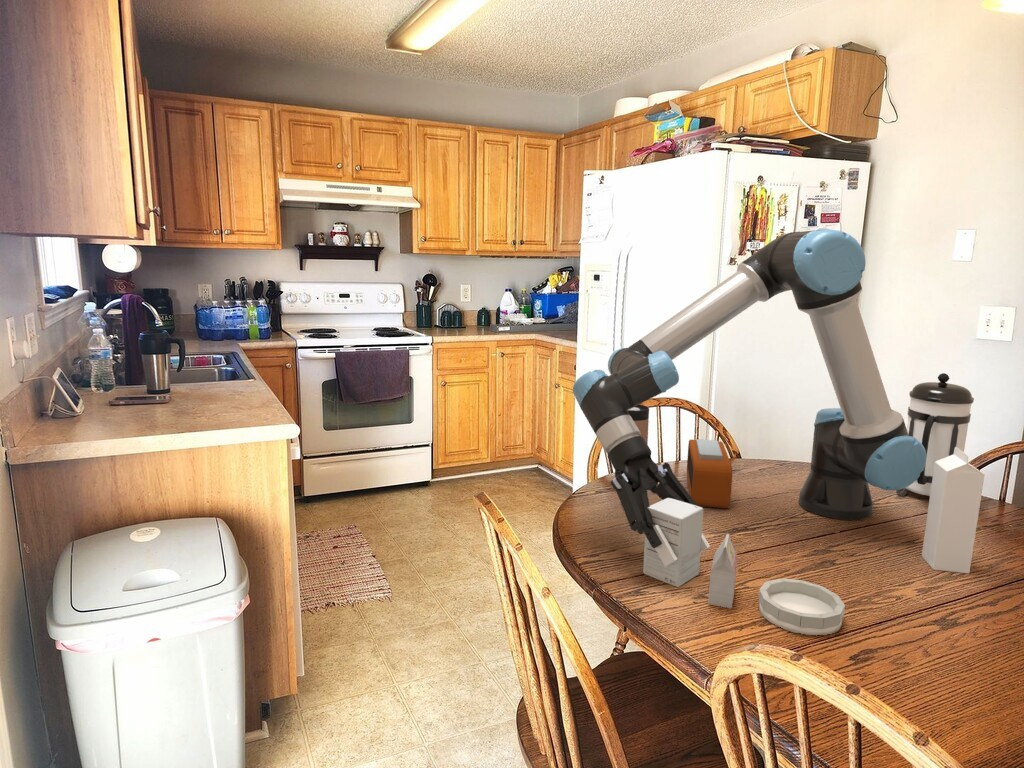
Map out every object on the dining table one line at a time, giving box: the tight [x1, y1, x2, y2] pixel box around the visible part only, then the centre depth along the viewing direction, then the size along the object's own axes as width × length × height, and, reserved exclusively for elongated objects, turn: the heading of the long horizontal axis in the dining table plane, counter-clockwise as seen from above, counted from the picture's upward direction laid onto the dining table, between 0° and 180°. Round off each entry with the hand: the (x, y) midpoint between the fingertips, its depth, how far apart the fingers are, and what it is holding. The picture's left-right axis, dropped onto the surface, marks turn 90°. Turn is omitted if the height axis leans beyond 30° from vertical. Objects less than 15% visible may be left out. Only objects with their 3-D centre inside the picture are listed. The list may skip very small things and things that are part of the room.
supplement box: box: [642, 498, 704, 588], centre depth 116 cm, size 7×7×13 cm
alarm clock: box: [686, 439, 733, 509], centre depth 159 cm, size 24×8×11 cm, turn 168°
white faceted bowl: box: [758, 578, 846, 637], centre depth 104 cm, size 12×12×3 cm
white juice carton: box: [707, 533, 738, 609], centre depth 109 cm, size 4×7×10 cm, turn 158°
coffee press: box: [895, 372, 975, 497], centre depth 156 cm, size 17×16×30 cm
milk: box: [921, 447, 985, 574], centre depth 121 cm, size 6×6×22 cm
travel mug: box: [614, 404, 650, 478], centre depth 161 cm, size 8×8×20 cm
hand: (687, 556), depth 114 cm, fingers closed on supplement box, 8 cm apart
